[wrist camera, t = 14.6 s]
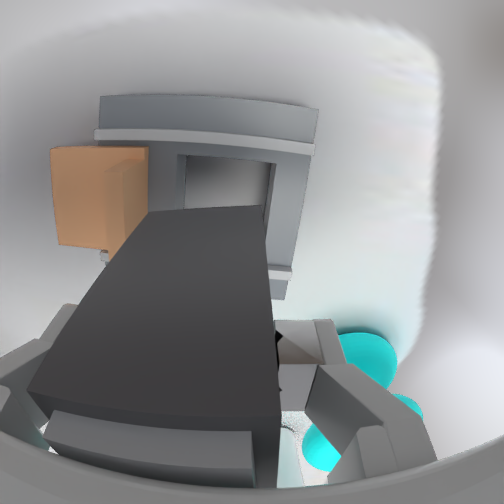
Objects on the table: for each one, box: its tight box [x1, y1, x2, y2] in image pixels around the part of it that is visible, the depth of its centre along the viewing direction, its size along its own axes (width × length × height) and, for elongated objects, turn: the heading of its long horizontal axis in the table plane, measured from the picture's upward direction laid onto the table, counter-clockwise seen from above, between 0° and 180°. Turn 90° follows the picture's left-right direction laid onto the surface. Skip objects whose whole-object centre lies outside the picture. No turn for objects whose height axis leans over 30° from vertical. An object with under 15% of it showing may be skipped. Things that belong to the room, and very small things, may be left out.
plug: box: [26, 205, 282, 488], centre depth 8 cm, size 4×4×9 cm
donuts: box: [302, 332, 423, 472], centre depth 23 cm, size 10×10×10 cm
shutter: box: [50, 146, 149, 262], centre depth 15 cm, size 6×6×4 cm
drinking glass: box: [277, 427, 305, 488], centre depth 27 cm, size 7×7×15 cm
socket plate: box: [94, 94, 319, 300], centre depth 18 cm, size 12×12×4 cm
